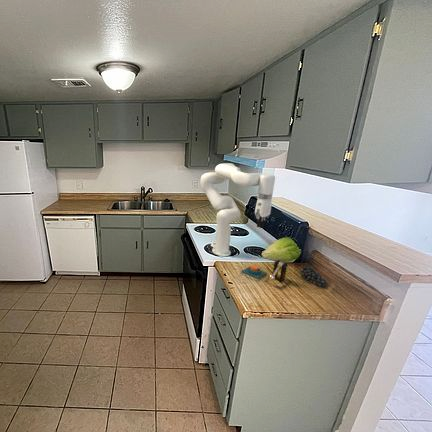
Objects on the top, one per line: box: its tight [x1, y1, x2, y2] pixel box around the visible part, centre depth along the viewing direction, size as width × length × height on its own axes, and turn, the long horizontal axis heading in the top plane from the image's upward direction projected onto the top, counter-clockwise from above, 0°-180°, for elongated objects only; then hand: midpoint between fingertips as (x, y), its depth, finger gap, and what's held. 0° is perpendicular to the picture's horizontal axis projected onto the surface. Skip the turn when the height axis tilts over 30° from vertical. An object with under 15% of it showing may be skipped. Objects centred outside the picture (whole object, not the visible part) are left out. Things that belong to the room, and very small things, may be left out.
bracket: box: [272, 260, 289, 284], centre depth 133 cm, size 12×9×12 cm
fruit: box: [299, 265, 329, 289], centre depth 132 cm, size 9×8×15 cm
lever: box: [268, 262, 285, 282], centre depth 130 cm, size 13×3×3 cm, turn 128°
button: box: [250, 264, 259, 271], centre depth 140 cm, size 4×4×2 cm
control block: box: [240, 265, 267, 280], centre depth 141 cm, size 10×10×4 cm
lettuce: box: [261, 236, 302, 263], centre depth 160 cm, size 15×25×16 cm
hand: (260, 227), depth 141 cm, fingers closed
